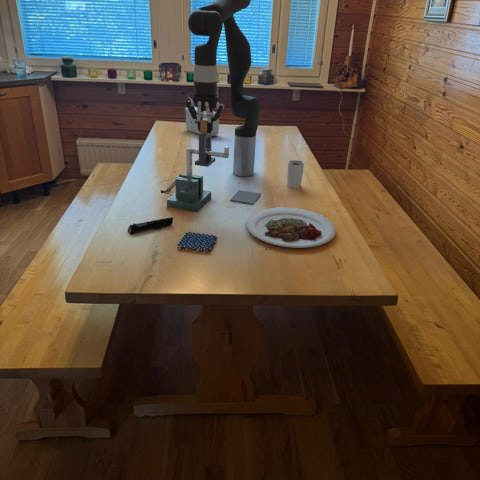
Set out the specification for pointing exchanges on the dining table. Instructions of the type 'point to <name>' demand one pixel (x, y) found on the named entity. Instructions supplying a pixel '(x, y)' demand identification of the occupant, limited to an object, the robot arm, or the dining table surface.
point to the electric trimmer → (150, 225)
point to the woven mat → (197, 242)
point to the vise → (192, 186)
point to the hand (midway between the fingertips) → (205, 132)
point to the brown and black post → (204, 145)
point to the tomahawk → (169, 187)
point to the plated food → (291, 227)
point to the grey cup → (295, 173)
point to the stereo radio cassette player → (193, 123)
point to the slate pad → (245, 197)
